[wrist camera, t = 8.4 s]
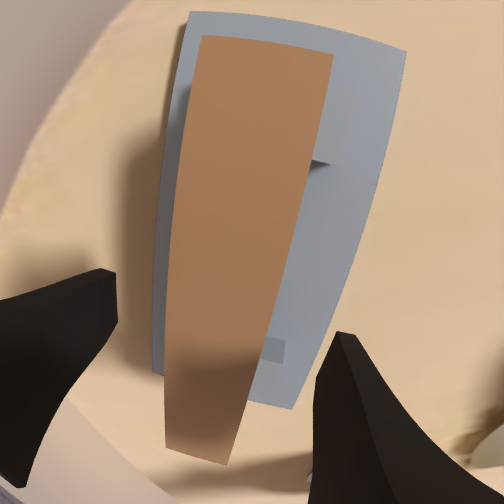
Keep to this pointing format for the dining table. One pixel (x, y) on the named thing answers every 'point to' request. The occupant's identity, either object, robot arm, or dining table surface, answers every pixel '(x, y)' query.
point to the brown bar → (233, 227)
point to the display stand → (315, 193)
